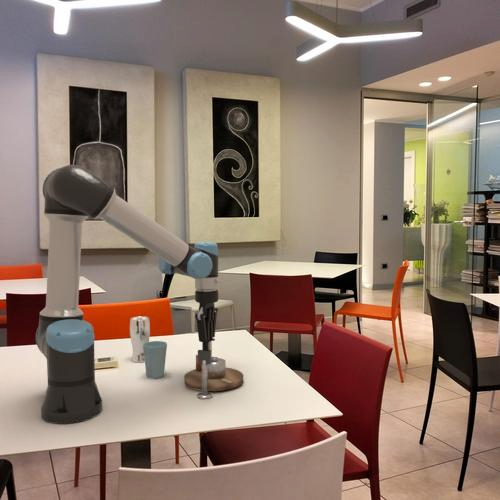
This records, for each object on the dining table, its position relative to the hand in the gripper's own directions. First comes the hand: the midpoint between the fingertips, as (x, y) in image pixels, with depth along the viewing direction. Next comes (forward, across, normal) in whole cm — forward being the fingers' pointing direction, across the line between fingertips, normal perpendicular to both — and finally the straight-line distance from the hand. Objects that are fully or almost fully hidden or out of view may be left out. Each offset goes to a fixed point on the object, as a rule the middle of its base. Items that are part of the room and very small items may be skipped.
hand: (207, 361), depth 169 cm
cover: (+1, -10, -7) cm, 12 cm away
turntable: (+4, -10, -7) cm, 12 cm away
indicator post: (+4, -21, -9) cm, 23 cm away
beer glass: (+4, +5, +28) cm, 29 cm away
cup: (+4, -9, +14) cm, 17 cm away
